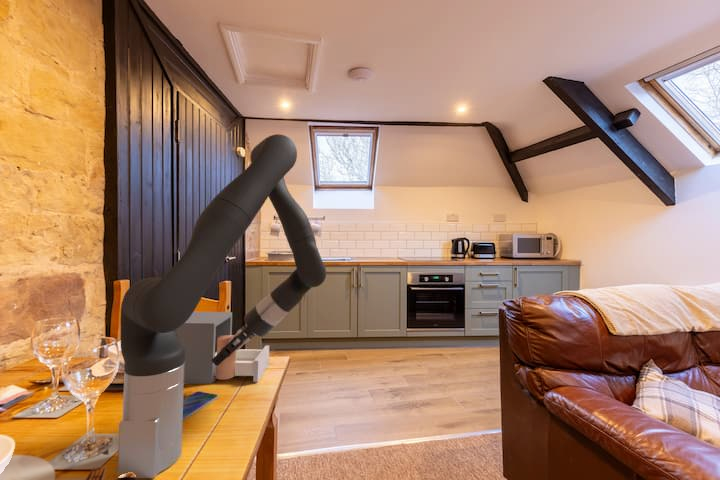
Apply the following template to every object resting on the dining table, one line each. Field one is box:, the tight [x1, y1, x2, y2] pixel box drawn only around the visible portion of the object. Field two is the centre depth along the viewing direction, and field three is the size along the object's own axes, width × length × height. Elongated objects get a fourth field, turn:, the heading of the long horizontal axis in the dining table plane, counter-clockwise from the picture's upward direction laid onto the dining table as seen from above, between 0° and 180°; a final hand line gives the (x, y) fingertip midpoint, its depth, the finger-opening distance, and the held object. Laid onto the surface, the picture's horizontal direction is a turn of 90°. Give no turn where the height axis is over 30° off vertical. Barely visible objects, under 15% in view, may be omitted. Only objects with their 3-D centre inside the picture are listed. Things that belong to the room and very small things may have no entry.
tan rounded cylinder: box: [216, 334, 236, 380], centre depth 80 cm, size 5×5×10 cm
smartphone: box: [183, 391, 219, 421], centre depth 72 cm, size 7×1×15 cm
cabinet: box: [176, 311, 233, 385], centre depth 92 cm, size 16×14×17 cm
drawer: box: [214, 344, 270, 383], centre depth 93 cm, size 16×13×6 cm
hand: (218, 359), depth 79 cm, fingers closed on tan rounded cylinder, 4 cm apart
